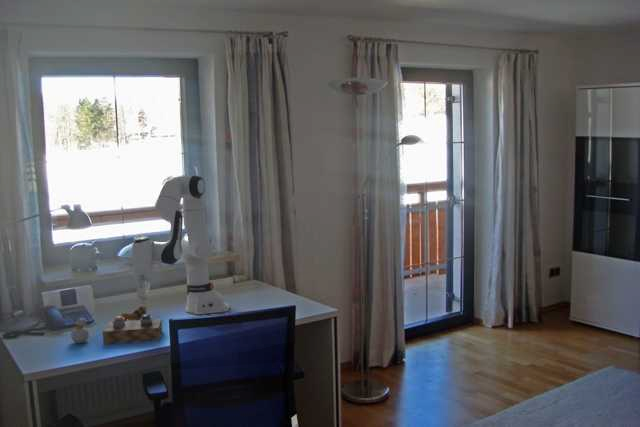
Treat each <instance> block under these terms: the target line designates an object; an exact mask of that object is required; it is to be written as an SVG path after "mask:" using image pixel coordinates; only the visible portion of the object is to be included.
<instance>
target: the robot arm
mask: <svg viewBox="0 0 640 427" xmlns="http://www.w3.org/2000/svg"><path fill="white" fill-rule="evenodd" d="M205 191H206V182H205V180H204V178H202V177H201V176H198V175H189V174H188V175H187V174H186V175H185V174H183V175H170V176H167V177H165V178H164V179H163V181H162V182H161V187H160V189H159V192H158V194H157V197H156V200H155V204H154V211H155V213H156V215H157V216H158V217H160V219H162V220H164V221H165V222H168V223H170V232H169V240H167V241H165V242H164V241H154V240H152V239H151V237H149V236H146V235H145V236H138V237H136V238H134V239H133V241H132V245H131V246H132V248H131V255H132V260H133V263H132V277H133V278H134V279H135V281H136V297H137V298H138V299H141V304H142V305H145V304H147V302H148V294H149V292H150V289H151V285H152V278H153V277H154V264H153V263H155V264H165V265H174V264H176V263H177V262H178V261H179V259H180V257H181V251H182V254H183V258H184V259H183V260H184V263H185V268H186V279H187V280H186V282H187V283H186V286H185V287H186V295H187V297H186V298H187V300H186V301H187V302H186V307H185V312H186V313H188V314H195V315H198V314H199V315H207V314H215V313H223V312H224V313H225V312H227V311H229V310H230V304H229V303H227V302H226V300H225V297H224V296H223V294H222V293H221V292H218V291H217V290H215V289H214V288H215V286H214V283H213V282H210V279H209V278H210V275H209V267H208V266H209V265H208V264H207V260H206V259H207V258H209V257H210V256H211V254H212V252H213V245H212V243H211V240H210V235H209V232H208V226H207V220H206V205H205V198H204V193H205ZM181 202H182V212H181V211H180V205H181ZM183 227H184V228H185V232H186V235H185V236H183V238H182V231H183ZM181 249H182V250H181Z"/></svg>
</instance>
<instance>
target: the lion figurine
mask: <svg viewBox="0 0 640 427" xmlns="http://www.w3.org/2000/svg"><path fill="white" fill-rule="evenodd" d="M147 312H148V311H147V306H144V305H140V306H139V307H138V308H137V309H135V310H134V311H132V312H123V313H121V314H120V316H123V318H125V321H135V320H140V319H141V316H142V315H145V314H148V313H147Z"/></svg>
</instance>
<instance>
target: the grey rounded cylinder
mask: <svg viewBox="0 0 640 427" xmlns="http://www.w3.org/2000/svg"><path fill="white" fill-rule="evenodd" d="M112 322H113V328H119V327H124V326H125V318H123V316H121V315H116V316H114V317H113V321H112Z"/></svg>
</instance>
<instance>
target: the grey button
mask: <svg viewBox="0 0 640 427" xmlns="http://www.w3.org/2000/svg"><path fill="white" fill-rule="evenodd" d="M152 317H153V316H152V315H151V314H148V313H146V314H145V315H142V316H141V319H140V320H141V326H150V325H152V319H153V318H152Z"/></svg>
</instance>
